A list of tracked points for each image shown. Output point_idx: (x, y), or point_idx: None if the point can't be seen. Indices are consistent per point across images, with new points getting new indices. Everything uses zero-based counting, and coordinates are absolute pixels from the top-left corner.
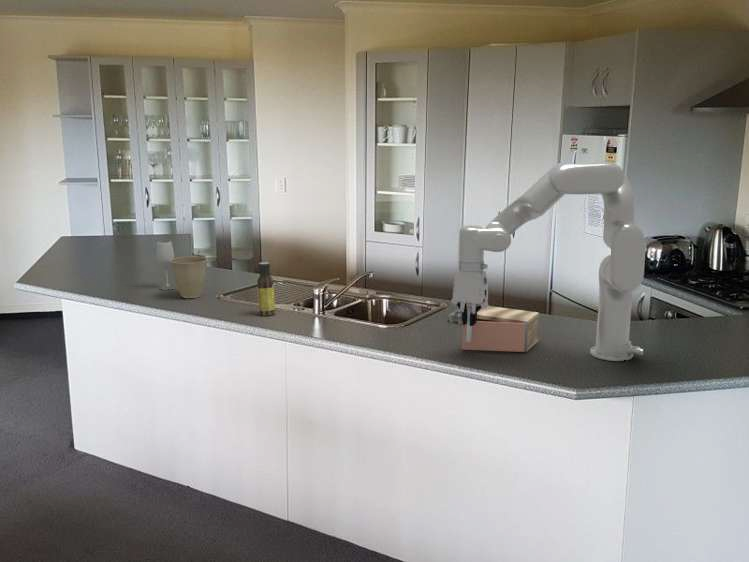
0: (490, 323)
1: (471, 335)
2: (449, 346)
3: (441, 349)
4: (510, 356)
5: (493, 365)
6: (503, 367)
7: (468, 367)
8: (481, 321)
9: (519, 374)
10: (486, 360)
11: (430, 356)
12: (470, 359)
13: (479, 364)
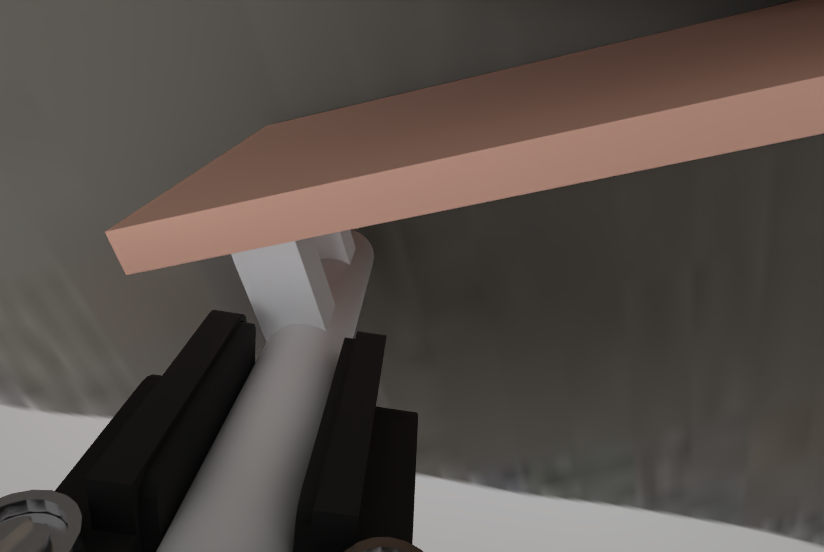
0: (649, 158)
1: (363, 293)
2: (114, 61)
3: (97, 181)
4: (760, 158)
5: (612, 404)
6: (688, 419)
7: (445, 478)
8: (460, 160)
9: (797, 499)
10: (546, 323)
11: (115, 367)
12: (418, 339)
13: (507, 413)
